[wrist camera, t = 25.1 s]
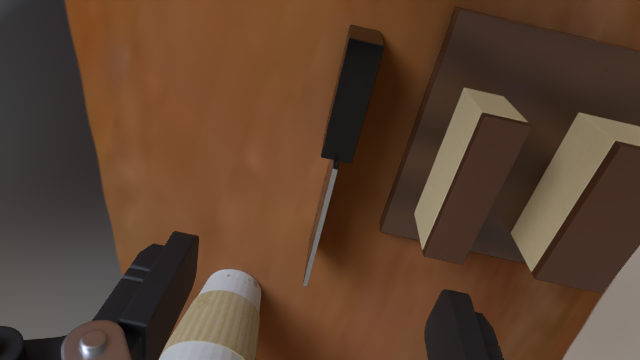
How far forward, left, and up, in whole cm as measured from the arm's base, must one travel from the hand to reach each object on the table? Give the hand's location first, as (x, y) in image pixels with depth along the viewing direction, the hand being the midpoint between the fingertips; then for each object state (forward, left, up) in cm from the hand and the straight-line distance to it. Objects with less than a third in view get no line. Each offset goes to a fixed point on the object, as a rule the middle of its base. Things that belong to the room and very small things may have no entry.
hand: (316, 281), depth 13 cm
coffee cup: (+26, -6, -23) cm, 35 cm away
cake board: (+3, +16, -23) cm, 28 cm away
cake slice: (+4, +11, -22) cm, 25 cm away
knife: (+6, +1, -23) cm, 24 cm away
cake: (+4, +21, -22) cm, 31 cm away
